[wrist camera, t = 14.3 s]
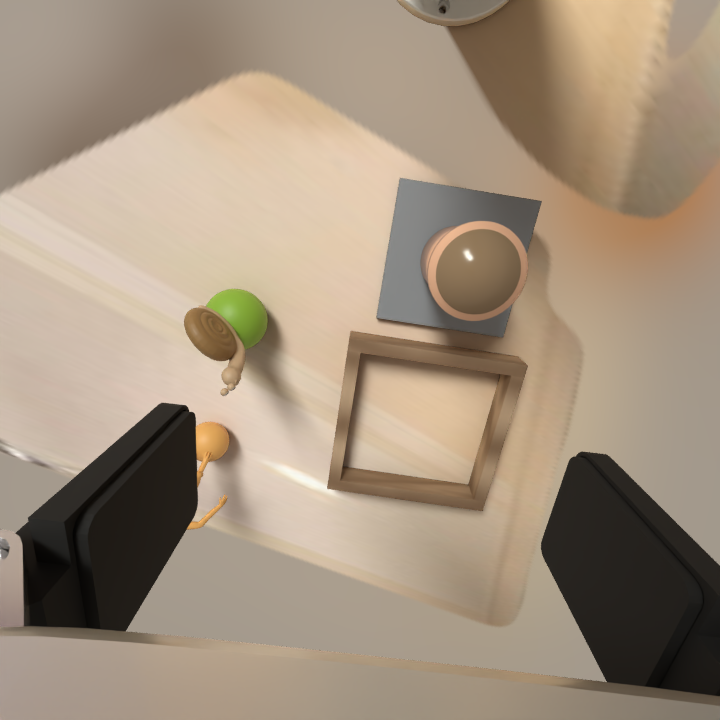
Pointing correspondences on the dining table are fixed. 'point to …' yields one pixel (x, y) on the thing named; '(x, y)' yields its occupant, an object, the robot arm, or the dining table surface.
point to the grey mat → (418, 224)
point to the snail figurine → (227, 330)
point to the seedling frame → (492, 438)
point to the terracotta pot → (474, 269)
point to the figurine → (209, 457)
